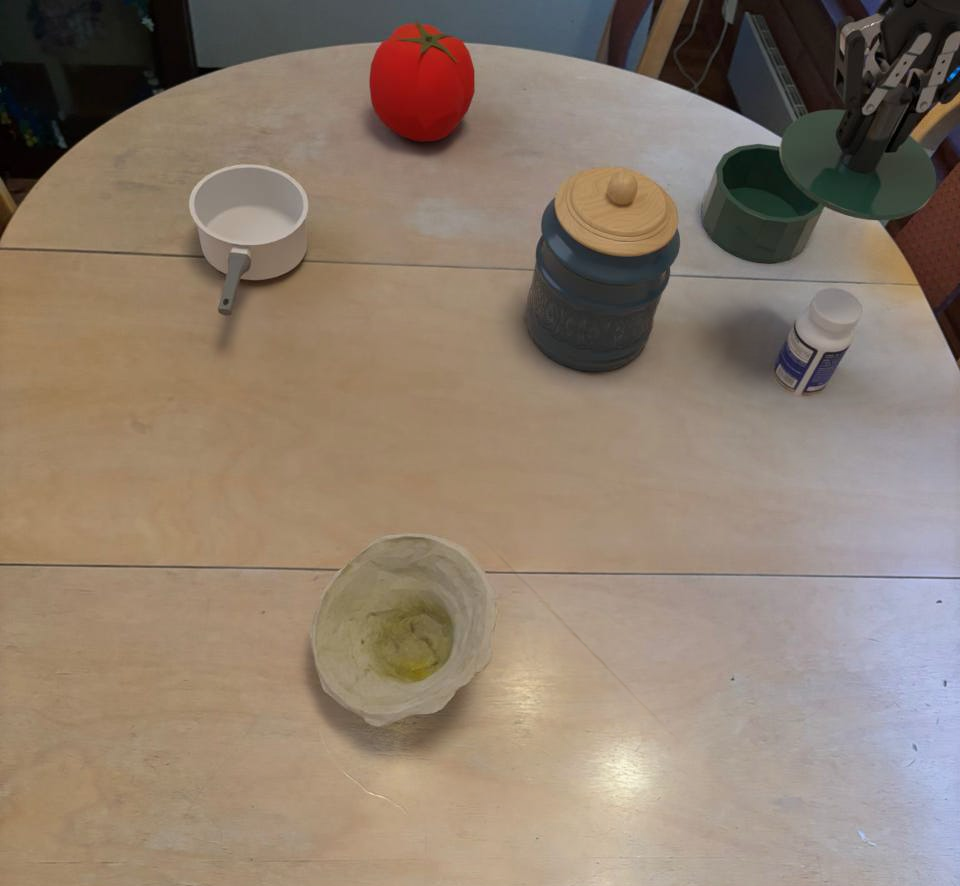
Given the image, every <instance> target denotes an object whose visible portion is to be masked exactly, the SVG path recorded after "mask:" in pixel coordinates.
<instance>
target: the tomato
mask: <svg viewBox="0 0 960 886" xmlns="http://www.w3.org/2000/svg"><path fill="white" fill-rule="evenodd" d="M414 20H415V23H407V24H404V25H400V26H398V27H396V28H395V29H394V31H393V33H392V34H391V35H390V36H389V38H388V39H387V40H383V41H382V42H381V43H380V45H378V47H377V48H376V50H375V53H374V55H373V58H372V61H371V63H370V70H369V78H368V79H369V81H368V82H369V84H368V85H369V93H370V101H371V106H372V109H373V110H374V113H375V115H376V116H377V117H378V118H379V120H380V121H381V122H382V123H383V125H384V126H385V127H387V128H388V129H390V130H391V131H392V132H394V133H396V134H397V135H399V136H400V137H403V138H406V139H409V140H412V141H414V142H436V141H438V140H442V139H444V138H446V137H447V136H449V134H450V133H451V132H453V131H454V130H455V129H456V127H457V126H458V125H459V123H461V121H462V119H463V118H464V117H465V116H466V115H467V113H468V111H469V108H470V106H471V103H472V100H473V98H474V96H475V92H476V91H475V90H476V89H475V88H476V87H475V84H476V83H475V79H476V78H475V73H476V72H475V67H474V63H473V60H472V56H471V53H470V50H469V49H468V48H467V46H466V45H465V42H464V41H463V39H461V38H457V37H454V35H448V34H445V33H443V32H441V31H440V30H439V29H438V28H436V27H435V26H433V25H431V24H421V23H420V22H419V21H418V20H417V18H414Z"/></svg>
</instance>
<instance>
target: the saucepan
mask: <svg viewBox="0 0 960 886" xmlns="http://www.w3.org/2000/svg"><path fill="white" fill-rule="evenodd" d="M188 207H189V213H190V215H191V218H192V219H193V222H195V223H196V227H197V232H198V237H199V243H200V247H201V252H202V254H203V256H204V258H205V259H206V261H208V263H209V264H210V265H211V266H212V267H213V268H214V269H216V270H217V271H219V272H220V273H223V274H225V275H226V276H225V280H224V284H223V288H222V291H221V295H220V299H219V303H218V308H217V311H218V314H220V315H221V316H224V317H227V316H231V315H232V313H233V308H234V305H235V300H236V297H237V294H238V290H239V286H240V282H241V280H245V281H249V280H250V281H262V280H269V279H274V278H277V277H279V276H283V275H285V274H286V273H289V272H291V270H294V269H295V268H296V267H297V266H298V265H299V264H300V263H301V262H302V261H303V259H304V257H305V255H306V252H307V250H308V231H307V220H306V219H307V214H308V212H309V200H308V195H307V193H306V191H305V189H304V188H303V186H302V185H301V184H300V182H298V181H297V179H294V178H293V177H292V176H291V175H289V174H288V173H286V172H284V171H281V170H280V169H276V168H274V167H271V166H266V165H260V164H248V163H247V164H235V165H230V166H225V167H222V168H220V169H217V170H215V171H213V172H211V173H209V174H207V175H205V176H204V177H203V178H202V179H200V180H199V181H198V182H197V183H196V185H195V186H194V188H192V191H191V193H190V196H189V200H188Z"/></svg>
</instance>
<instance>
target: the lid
mask: <svg viewBox="0 0 960 886" xmlns="http://www.w3.org/2000/svg"><path fill="white" fill-rule="evenodd" d="M905 85H906V84H904V83H901V82H899V84H898V85H897V86H896V88H894V89H890V90H889V91H888V92H887V93H886V95H885V96H884V98H883V99H882V101H881V102H880V104H879V105H878V107H877V108H876V110H875V111H874V112H873V114H874V117H873V119H872V121H871V123H870V125H869V127H868V129H867V131H866V133H865V135H864V137H863V139H862V141H861V143H860V145H859V147H858V149H857V151H856V153H855V154H854V155H844V154H843V152H842V150H841V148H840V146H839V144H838V141H837V139H836V130H837V128H838V126H839V124H840V122H841V120H842V117H843V115H844V113H845V111H846V109H823V110H817V111H813V112H809V113H807V114H804V115H802V116H800V117H798V118H796V119H795V120H794V121H792V123H790V124H789V125H788V126H787V128H786V129H785V131H784V133H783V135H782V138H781V140H780V142H779V147H780V148H779V151H780V159H781V163H782V166H783V168H784V170H785V172H786V174H787V175H788V177H789V178H790V179H791V181H792V182H793V183H794V184H795V185H796V186H797V187H798V188H799V189H800V190H801V191H802V192H803V193H804V194H806V195H807V196H808V197H810V198H811V199H813V200H814V201H816V202H817V203H819V204H821V205H823V206H824V208H827V209H829V210H831V211H833V212H835V213H839V214H841V215H843V216H846V217H847V216H848V217H852V218H854V219H861V220H867V221H890V220H891V221H893V220H898V219H903V218H906V217H909V216H910V215H914V214H915V213H916V212H918V211H919V210H921V209H922V208H924V207H925V206H926V205H927V203H928V202H929V201H930V199H931V197H932V196H933V194H934V192H935V189H936V185H937V174H936V169H935V165H934V163H933V161H932V160H931V157H930V155H929V154H928V153H927V151H926V150H925V149H924V148H923V147H922V145H921V144H920V143H919V142H918V141H917V140H916V139H914V137H912V136H911V135H910V134H909V136H908V138H907V140H906V141H905V142H904V143H903V144H902V145H900V146H899V148H898V150H897V151H896V152H894V153H886V152H885V151H886V149H887V147H888V145H889V143H890V142H891V140H892V138H893V136H894V134H895V132H896V130H897V128H898V126H899V124H900V122H901V121H902V119H903V117H904V115H905V113H906V111H907V109H908V107H909V105H910V103H911V102H912V99H913V95H912V92H911V91H910V89H909V88H908V87H906V86H905Z"/></svg>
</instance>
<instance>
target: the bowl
mask: <svg viewBox="0 0 960 886" xmlns="http://www.w3.org/2000/svg"><path fill="white" fill-rule="evenodd" d="M497 601H498V600H497V593H496V591H495V588H494V586H493V584H492V583H491V581H490V578H489V576H488V575H487V573H486V571H485V569H484V568H483V567H482V566H481V565H480V564H479V562H478V560H477V558H475V556H474V555H473V554H472V553H471V551H470V550H469V549H467V548H466V547H465V546H463V545H461V544H459V543H457V542H455V541H453V540H450V539H446V538H443V537H441V536H436V535H433V534H427V533H419V532H411V533H396V534H387V535H383V536H380V537H377V538H376V539H374V540H372V541H371V542H370V543H369V544H367V545H366V546H365V547H364V548H363V549H362V550H361V551H359V552H358V553H356V555H355V556H354V557H353V558H352V559H350V560H349V561H348V562H347V563H346V564H345V565H344V566H342V567H341V568H340V569H339V570H337V571H336V572H335V574H333V576H332V578H331V579H330V580H329V581H328V582H327V584H326V586H325V588H324V590H323V591H322V593H321V596H320V597H319V601H318V603H317V607H316V610H315V613H314V619H313V623H312V626H311V628H310V631H309V634H308V637H310V641H311V643H310V644H311V652H312V655H313V657H314V666H315V669H316V672H317V674H318V678H319V681H320V685H321V688H322V690H323V691H324V692H323V693H326V694H327V695H328V696H330V697H331V698H332V699H333V700H335V702H337V703H338V704H339V705H340V706H341V707H342V708H344V709H345V710H347V711H350V712H352V713H354V714H356V715H358V716H360V717H362V718H363V719H364V721H365V723H367V724H369V725H371V726H373V727H383V726H388V725H391V724H392V723H395V722H398V721H399V720H402V719H404V718H407V717H410V716H413V715H428V714H435V713H437V712H439V711H440V710H442V709H443V708H444V707H445V706H446V705H447V704H448V703H449V702H450V701H451V699H452V698H453V697H454V696H455V694H456V692H457V691H458V690H459V689H460V688H462V687H463V686H466V685H467V684H468V683H469V682H470V681H471V680H472V678H473V677H475V676H478V674H480V673H481V672H482V671H484V670H485V669H486V668H487V667H488V666H489V665H490V662H491V660H492V659H493V649H492V636H493V634H494V630H495V628H496V624H497V619H498V612H497V607H498V605H497V603H498V602H497Z"/></svg>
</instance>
